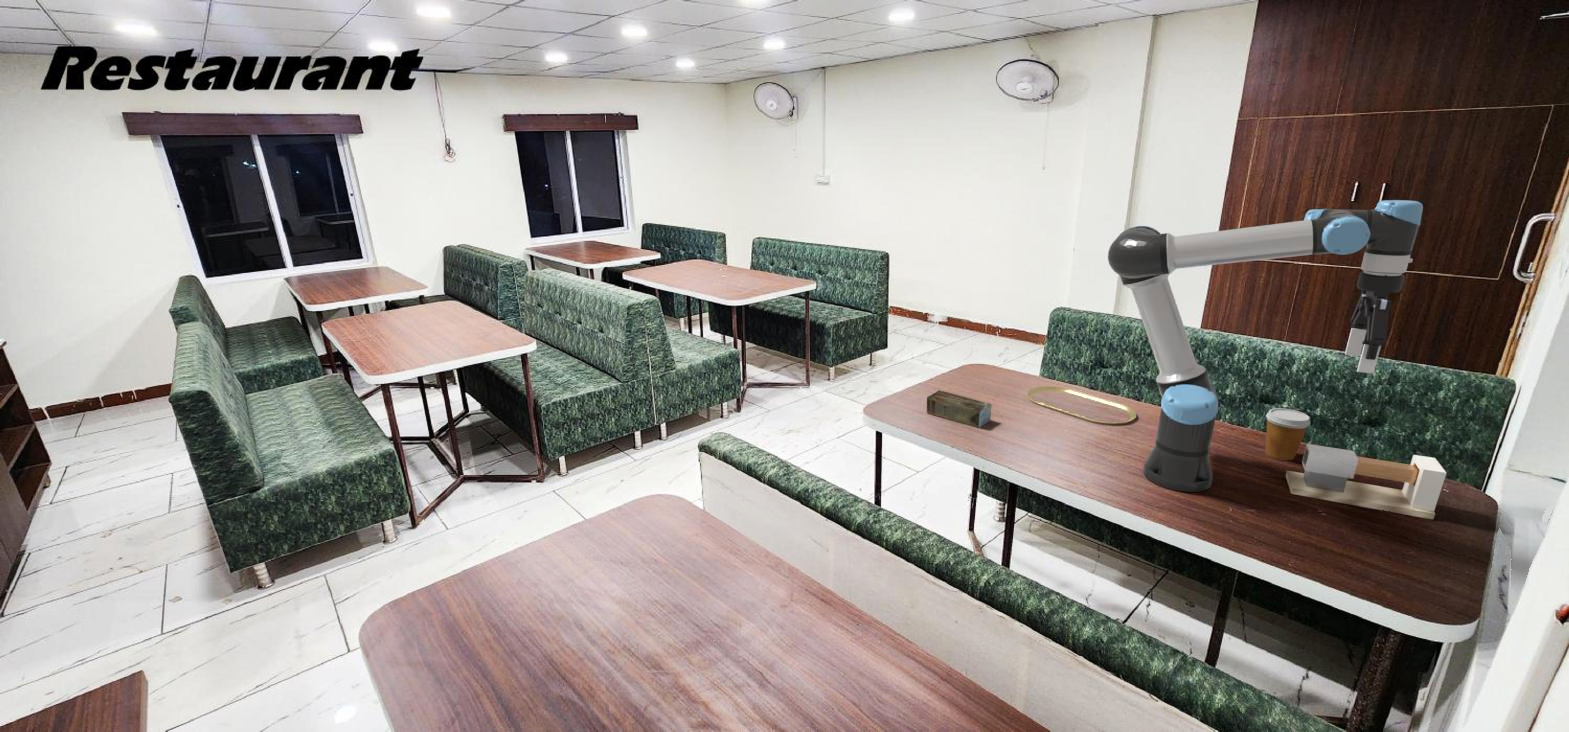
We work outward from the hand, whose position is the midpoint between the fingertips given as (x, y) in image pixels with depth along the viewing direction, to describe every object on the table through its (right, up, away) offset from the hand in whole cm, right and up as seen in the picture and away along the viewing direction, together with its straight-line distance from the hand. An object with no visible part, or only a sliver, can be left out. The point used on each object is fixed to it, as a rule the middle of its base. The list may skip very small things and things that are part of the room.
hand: (1358, 363), depth 150 cm
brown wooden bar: (+6, -26, +1) cm, 27 cm away
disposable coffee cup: (+1, -25, +26) cm, 36 cm away
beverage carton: (-77, -17, +58) cm, 98 cm away
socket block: (+13, -32, -1) cm, 34 cm away
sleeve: (-2, -29, +7) cm, 30 cm away
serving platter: (-37, -14, +62) cm, 74 cm away
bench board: (+3, -32, +5) cm, 32 cm away
